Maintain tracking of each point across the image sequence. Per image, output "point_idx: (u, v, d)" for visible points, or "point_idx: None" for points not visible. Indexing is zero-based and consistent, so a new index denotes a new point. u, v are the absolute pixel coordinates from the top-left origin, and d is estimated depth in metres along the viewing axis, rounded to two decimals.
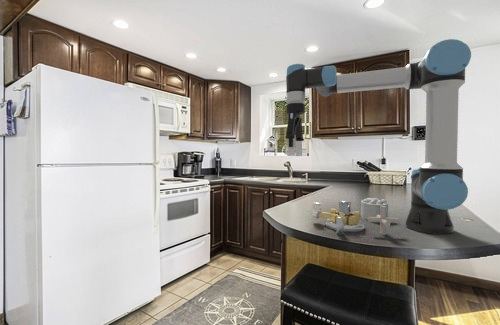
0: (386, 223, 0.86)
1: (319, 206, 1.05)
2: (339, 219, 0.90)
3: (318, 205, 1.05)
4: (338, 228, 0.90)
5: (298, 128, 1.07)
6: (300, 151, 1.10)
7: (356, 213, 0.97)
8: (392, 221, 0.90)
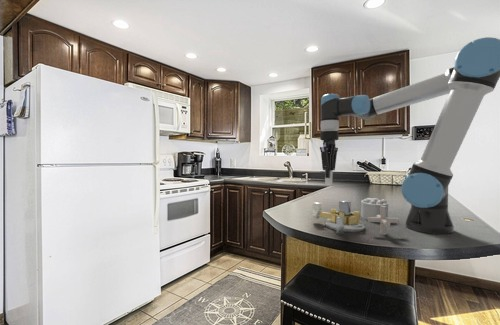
0: (386, 223, 0.86)
1: (319, 206, 1.05)
2: (339, 219, 0.90)
3: (318, 205, 1.05)
4: (338, 228, 0.90)
5: None
6: None
7: (356, 213, 0.97)
8: (392, 221, 0.90)
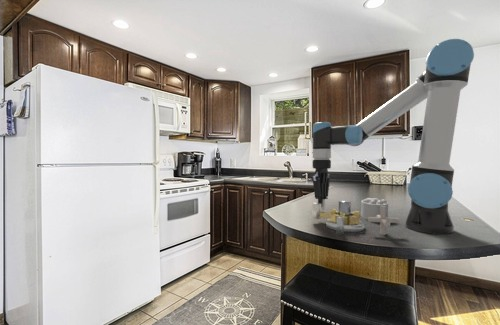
0: (386, 223, 0.86)
1: (319, 206, 1.04)
2: (339, 219, 0.90)
3: (318, 205, 1.04)
4: (338, 228, 0.90)
5: None
6: None
7: (356, 213, 0.98)
8: (392, 221, 0.90)
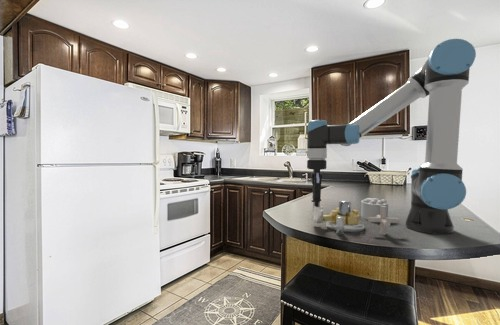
0: (386, 223, 0.86)
1: None
2: (339, 219, 0.90)
3: (322, 208, 0.98)
4: (338, 228, 0.90)
5: None
6: None
7: (356, 211, 1.01)
8: (392, 221, 0.90)
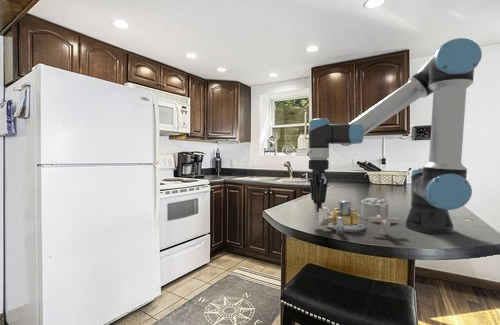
0: (386, 223, 0.86)
1: (328, 211, 0.95)
2: (339, 219, 0.90)
3: (328, 210, 0.95)
4: (338, 228, 0.90)
5: None
6: None
7: (354, 211, 1.02)
8: (392, 221, 0.90)
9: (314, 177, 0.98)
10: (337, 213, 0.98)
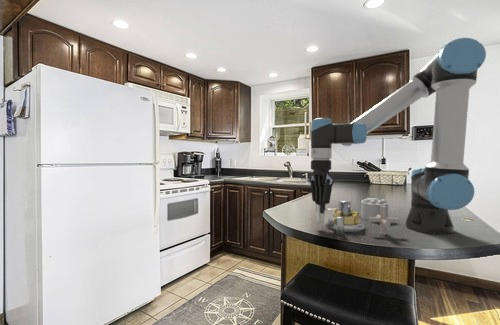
0: (386, 223, 0.86)
1: None
2: (339, 219, 0.90)
3: (334, 211, 0.93)
4: (338, 228, 0.90)
5: None
6: None
7: (352, 210, 1.03)
8: (392, 221, 0.90)
9: (317, 178, 0.96)
10: (340, 213, 0.97)
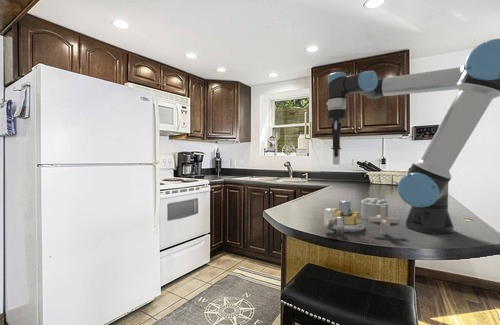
0: (386, 223, 0.86)
1: None
2: (339, 219, 0.90)
3: (334, 211, 0.93)
4: (338, 228, 0.90)
5: None
6: None
7: (352, 210, 1.03)
8: (392, 221, 0.90)
9: None
10: (340, 213, 0.97)
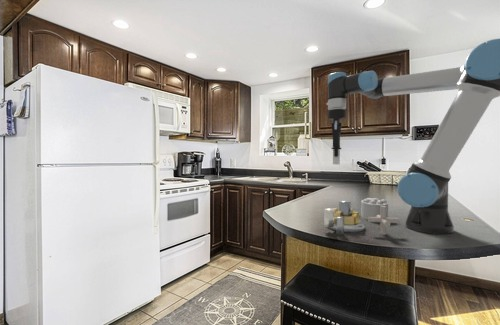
0: (386, 223, 0.86)
1: None
2: (339, 219, 0.90)
3: (334, 211, 0.93)
4: (338, 228, 0.90)
5: None
6: None
7: (352, 210, 1.03)
8: (392, 221, 0.90)
9: None
10: (340, 213, 0.97)
